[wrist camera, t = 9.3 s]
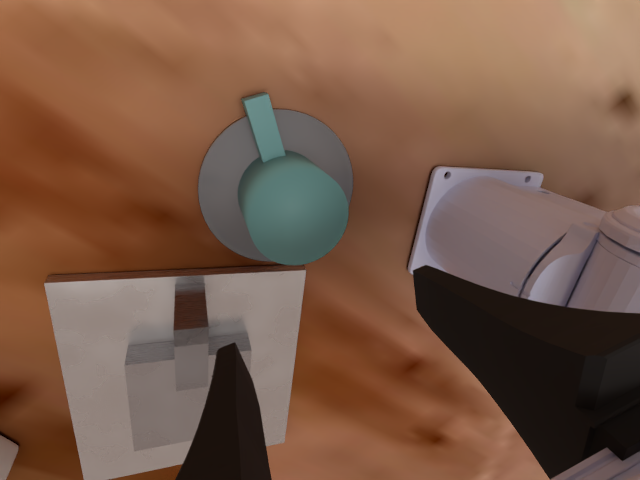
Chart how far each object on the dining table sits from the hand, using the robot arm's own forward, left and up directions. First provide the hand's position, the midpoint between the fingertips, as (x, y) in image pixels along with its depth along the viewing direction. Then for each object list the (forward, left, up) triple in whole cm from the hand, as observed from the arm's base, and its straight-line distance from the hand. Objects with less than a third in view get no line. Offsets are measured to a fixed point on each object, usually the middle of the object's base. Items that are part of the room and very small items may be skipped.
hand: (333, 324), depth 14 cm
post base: (+5, +11, -10) cm, 16 cm away
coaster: (0, -2, -10) cm, 10 cm away
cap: (+1, -3, -10) cm, 10 cm away
